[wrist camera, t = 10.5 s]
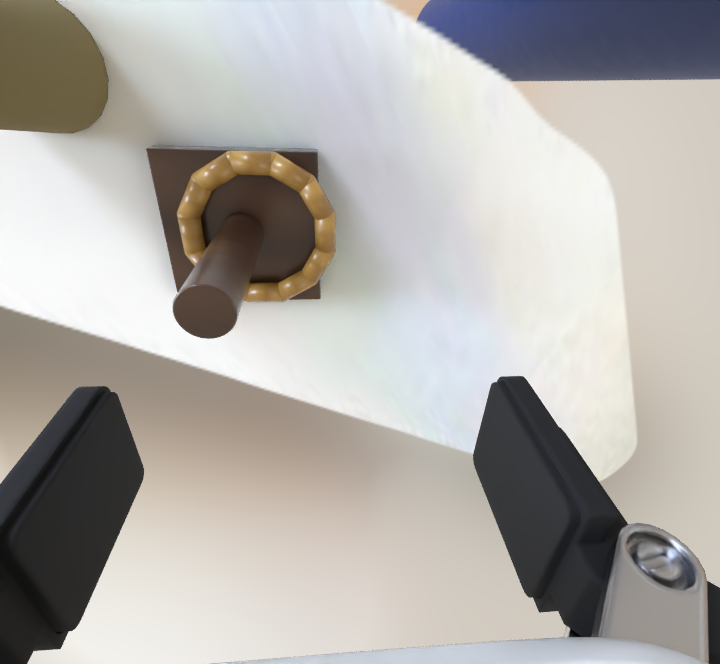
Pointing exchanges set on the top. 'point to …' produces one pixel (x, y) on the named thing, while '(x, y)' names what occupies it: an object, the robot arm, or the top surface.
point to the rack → (232, 235)
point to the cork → (48, 69)
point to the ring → (285, 173)
